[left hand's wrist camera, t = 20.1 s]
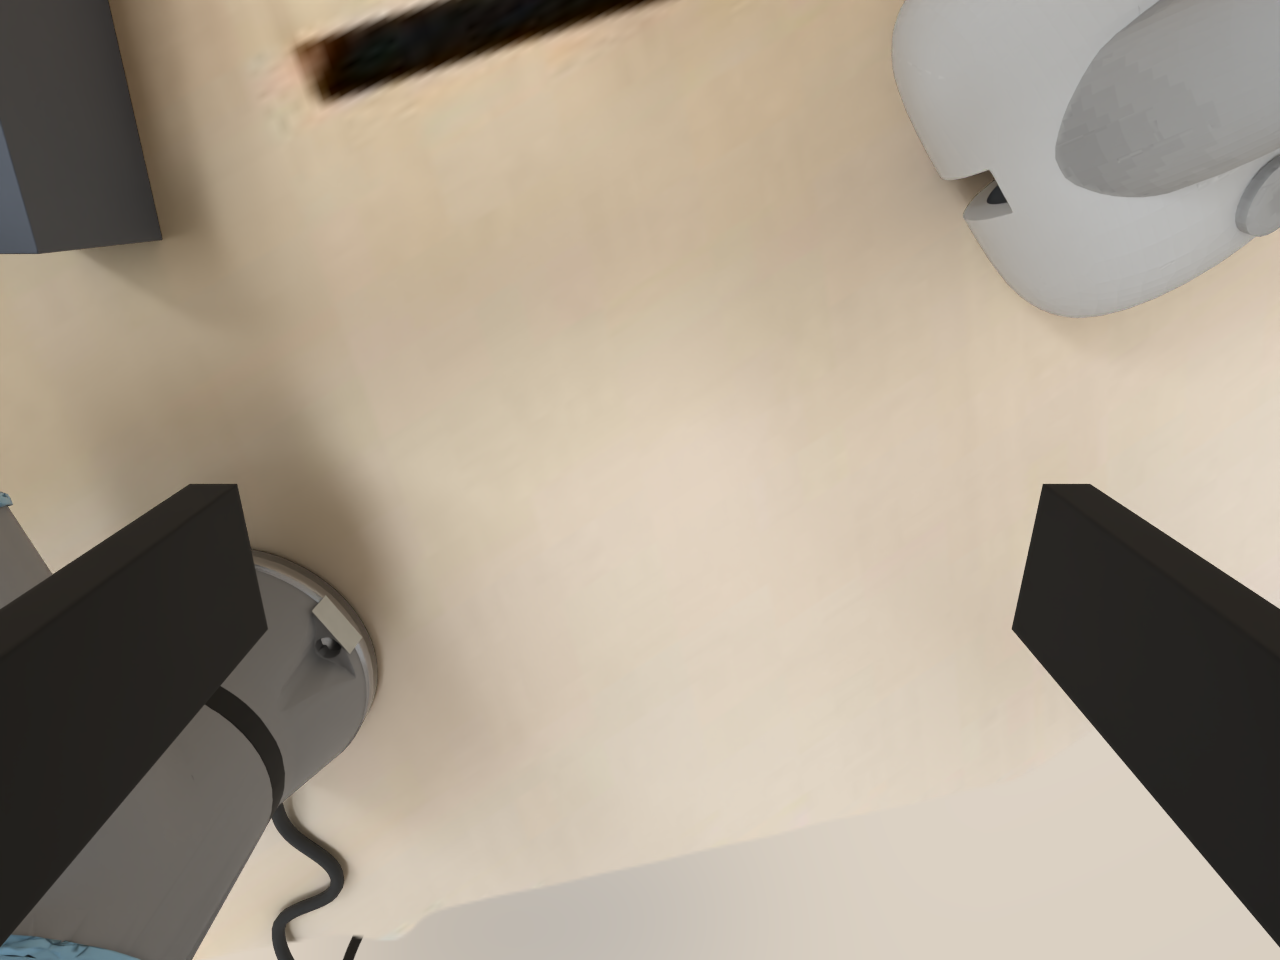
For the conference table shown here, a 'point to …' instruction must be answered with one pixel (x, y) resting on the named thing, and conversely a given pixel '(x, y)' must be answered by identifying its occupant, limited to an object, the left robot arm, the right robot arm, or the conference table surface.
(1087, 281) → the projector
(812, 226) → the conference table surface
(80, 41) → the bar
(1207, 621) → the left robot arm
